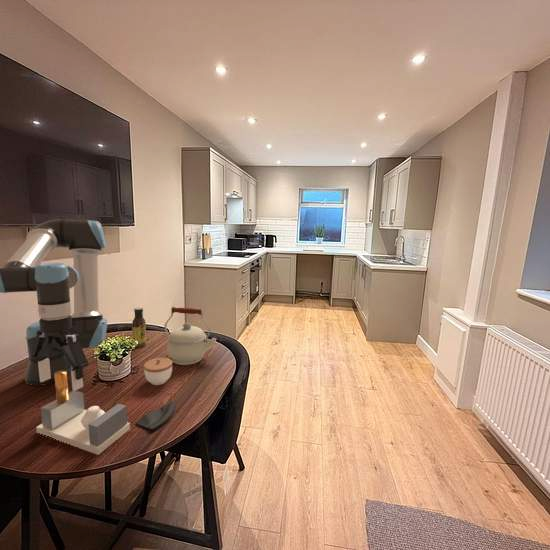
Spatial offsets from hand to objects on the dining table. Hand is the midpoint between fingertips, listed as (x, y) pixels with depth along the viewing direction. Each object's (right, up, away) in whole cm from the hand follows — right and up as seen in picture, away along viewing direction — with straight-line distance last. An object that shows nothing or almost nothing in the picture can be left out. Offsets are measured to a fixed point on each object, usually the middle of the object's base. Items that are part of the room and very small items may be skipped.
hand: (61, 384), depth 87 cm
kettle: (+25, -7, +50) cm, 56 cm away
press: (+7, -14, 0) cm, 16 cm away
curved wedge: (+27, -14, +7) cm, 31 cm away
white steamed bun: (+11, -13, -2) cm, 17 cm away
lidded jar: (+18, -10, +29) cm, 36 cm away
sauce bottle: (-6, -4, +63) cm, 63 cm away
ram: (-1, -11, +2) cm, 11 cm away
